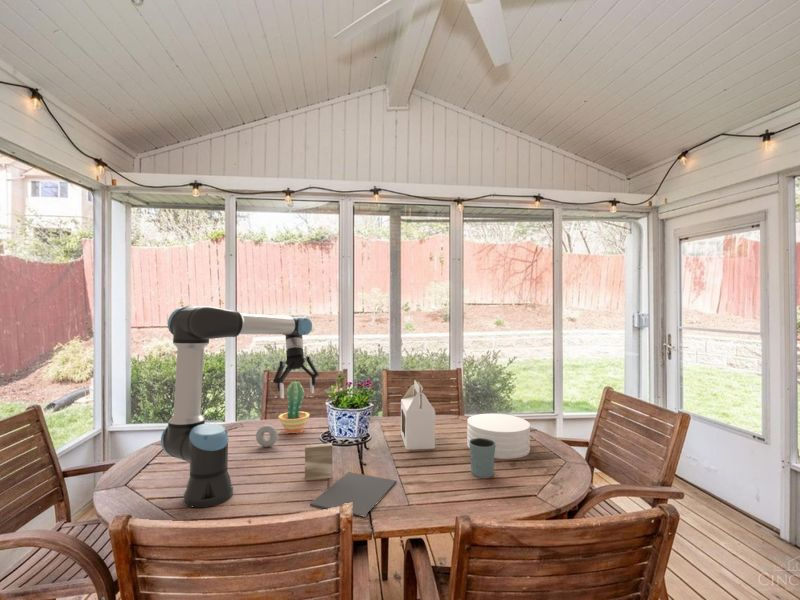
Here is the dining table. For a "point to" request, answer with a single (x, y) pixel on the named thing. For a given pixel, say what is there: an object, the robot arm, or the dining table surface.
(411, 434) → the gable box
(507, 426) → the plate stack
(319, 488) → the dining table surface
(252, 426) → the dining table surface
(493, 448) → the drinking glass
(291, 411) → the potted cactus
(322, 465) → the birch tile
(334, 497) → the rubber mat
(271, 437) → the donut
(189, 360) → the robot arm
